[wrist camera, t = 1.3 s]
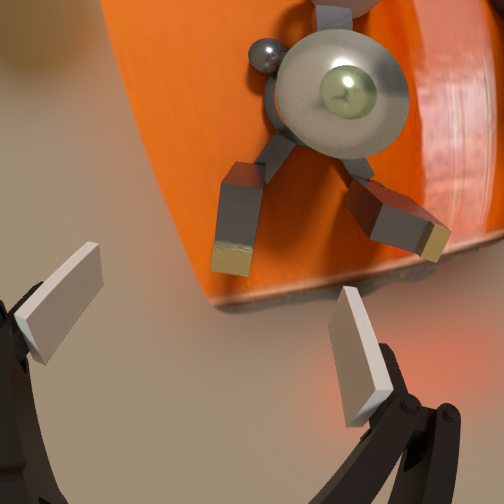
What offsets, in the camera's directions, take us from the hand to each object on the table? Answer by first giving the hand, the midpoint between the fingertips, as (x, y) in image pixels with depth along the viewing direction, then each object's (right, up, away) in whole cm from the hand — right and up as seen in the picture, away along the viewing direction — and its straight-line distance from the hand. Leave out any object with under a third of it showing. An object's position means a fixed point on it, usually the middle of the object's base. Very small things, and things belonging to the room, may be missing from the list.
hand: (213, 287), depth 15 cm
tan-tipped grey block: (+1, +8, +17) cm, 19 cm away
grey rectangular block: (+15, +8, +16) cm, 24 cm away
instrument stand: (+8, +16, +12) cm, 22 cm away
